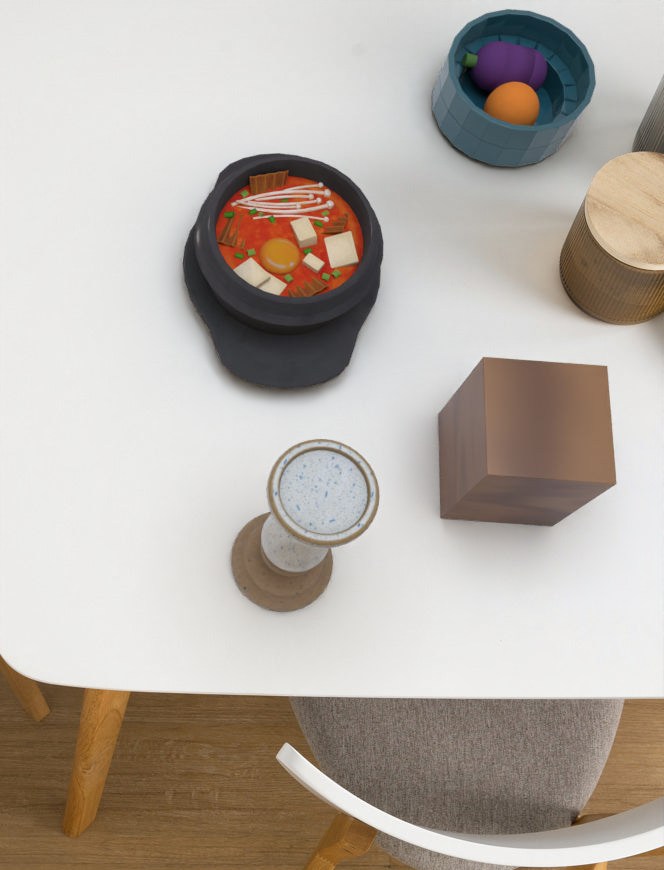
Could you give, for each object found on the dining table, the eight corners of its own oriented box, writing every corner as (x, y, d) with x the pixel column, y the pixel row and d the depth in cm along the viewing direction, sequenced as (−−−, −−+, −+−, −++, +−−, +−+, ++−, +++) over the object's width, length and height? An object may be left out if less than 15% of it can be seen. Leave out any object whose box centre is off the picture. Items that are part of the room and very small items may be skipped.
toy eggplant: (525, 97, 100) (544, 49, 98) (543, 106, 96) (562, 56, 94) (448, 79, 99) (465, 31, 96) (463, 88, 95) (480, 37, 92)
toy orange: (531, 101, 98) (549, 73, 92) (527, 150, 97) (544, 124, 92) (479, 97, 98) (493, 68, 93) (474, 145, 97) (489, 119, 92)
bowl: (564, 59, 101) (590, 15, 95) (572, 175, 97) (600, 136, 91) (429, 49, 101) (447, 4, 95) (431, 164, 96) (450, 124, 91)
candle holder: (234, 614, 82) (264, 556, 63) (226, 516, 85) (254, 431, 66) (336, 609, 83) (397, 550, 63) (325, 511, 85) (381, 426, 66)
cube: (546, 421, 89) (607, 365, 77) (552, 526, 86) (617, 484, 74) (437, 414, 88) (483, 356, 77) (440, 518, 85) (487, 474, 74)
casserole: (182, 163, 96) (186, 104, 88) (368, 168, 96) (389, 110, 88) (181, 395, 88) (185, 354, 80) (383, 399, 89) (408, 359, 81)
